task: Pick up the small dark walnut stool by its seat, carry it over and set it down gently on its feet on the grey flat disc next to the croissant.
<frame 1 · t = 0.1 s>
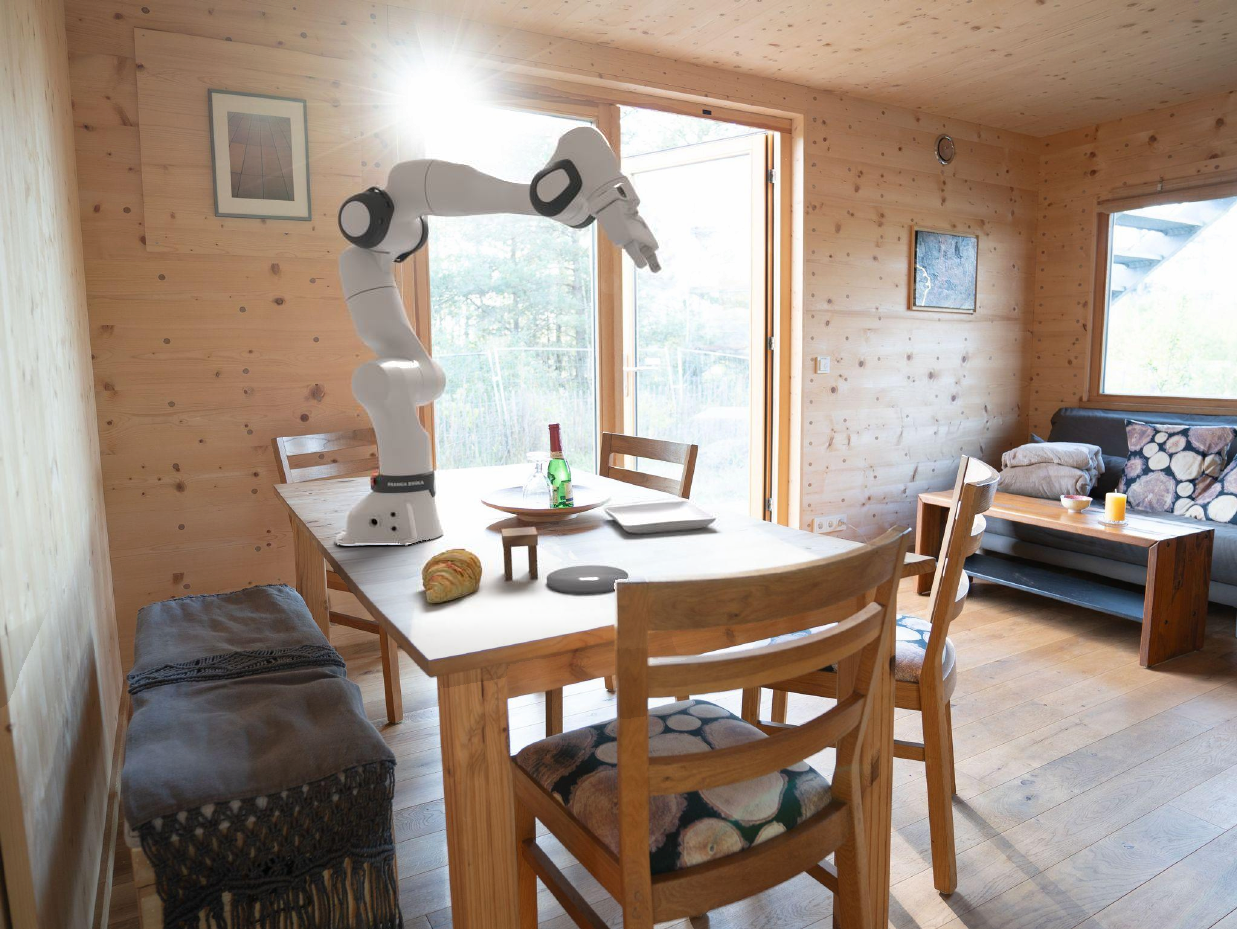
hand: (650, 269, 152), 54 cm above the table, tool tilted 30°, fingers open, 8 cm apart
salad plate: (657, 526, 184), on the table
stool: (520, 575, 144), on the table
grey flat disc: (587, 581, 139), on the table
croissant: (451, 590, 137), on the table
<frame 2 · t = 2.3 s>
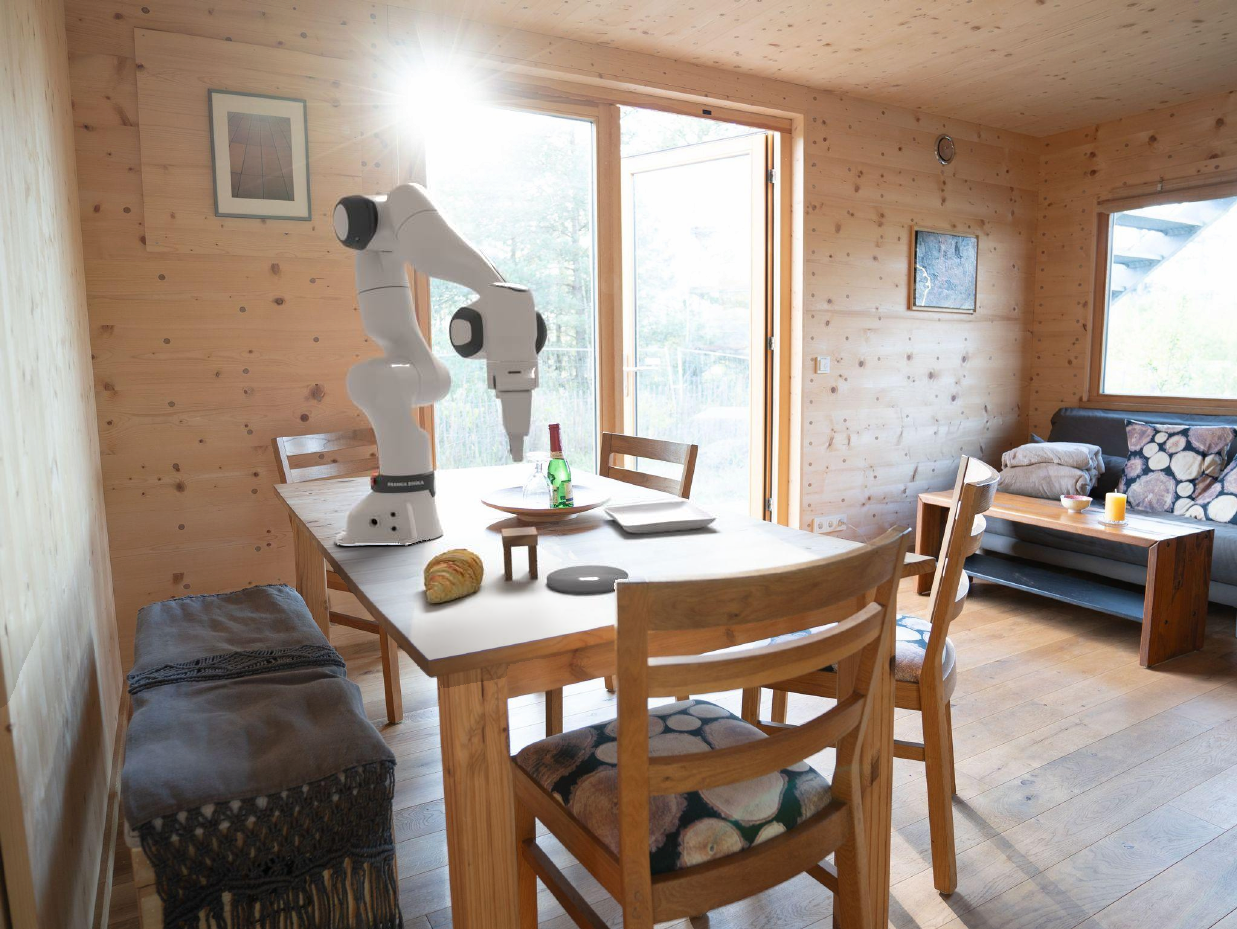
hand: (516, 458, 141), 21 cm above the table, tool pointing down, fingers open, 8 cm apart
nothing on the table moved.
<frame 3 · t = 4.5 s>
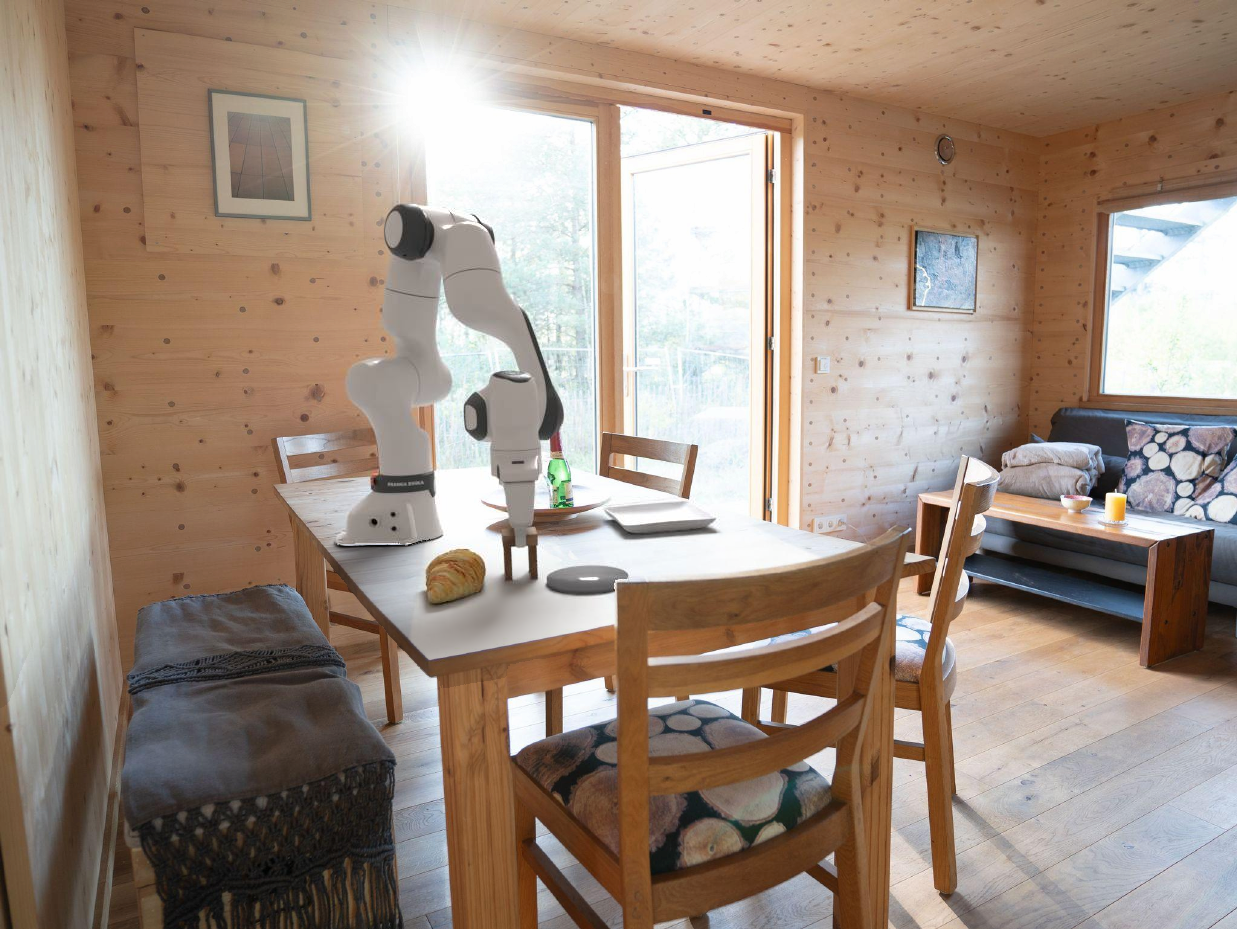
hand: (519, 541, 143), 6 cm above the table, tool pointing down, fingers closed on stool, 6 cm apart
stool: (520, 575, 144), on the table, touching gripper
everything else where it was.
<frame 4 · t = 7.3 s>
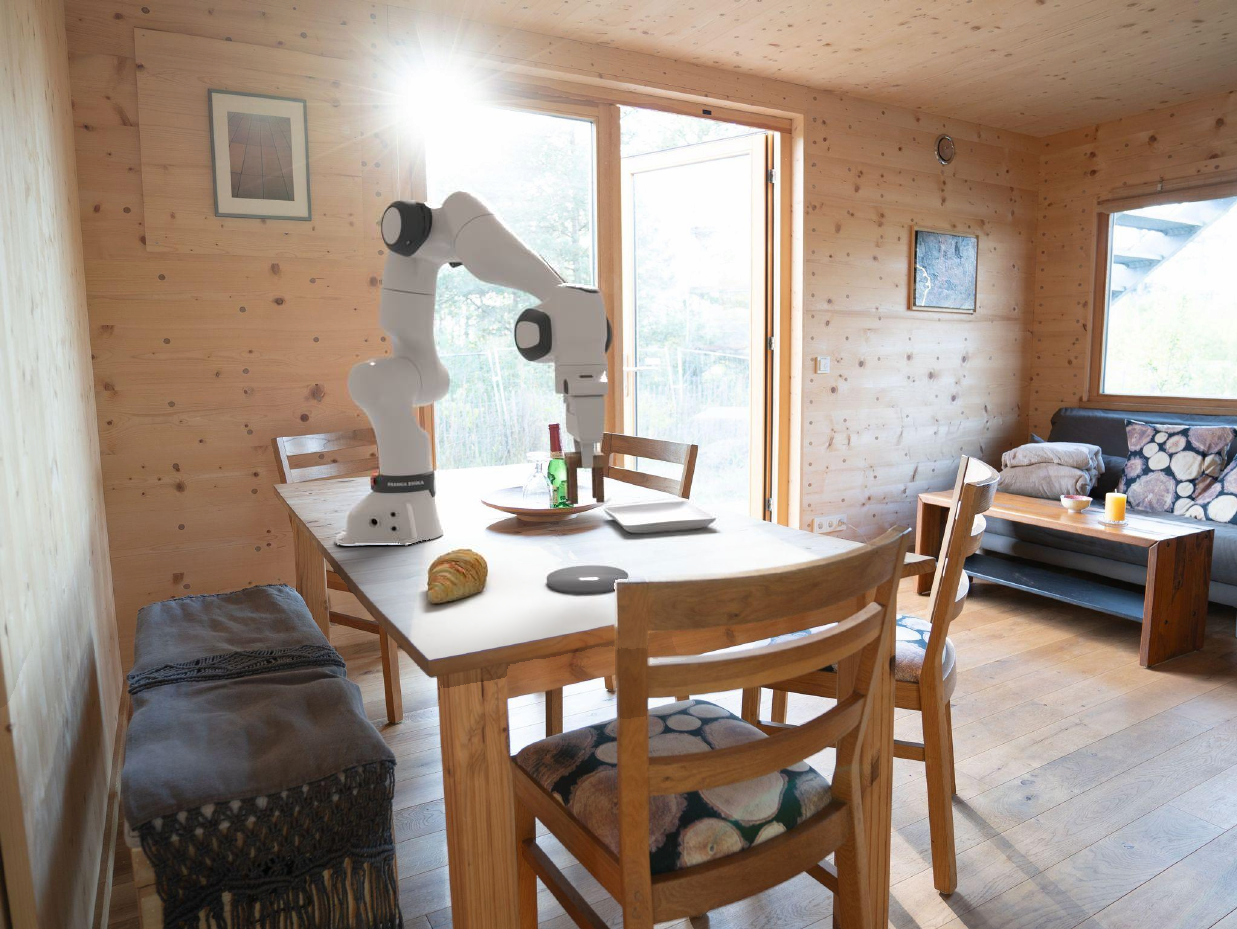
hand: (584, 465, 136), 20 cm above the table, tool pointing down, fingers closed on stool, 6 cm apart
stool: (585, 500, 137), point 14 cm above the table, touching gripper
everything else where it was.
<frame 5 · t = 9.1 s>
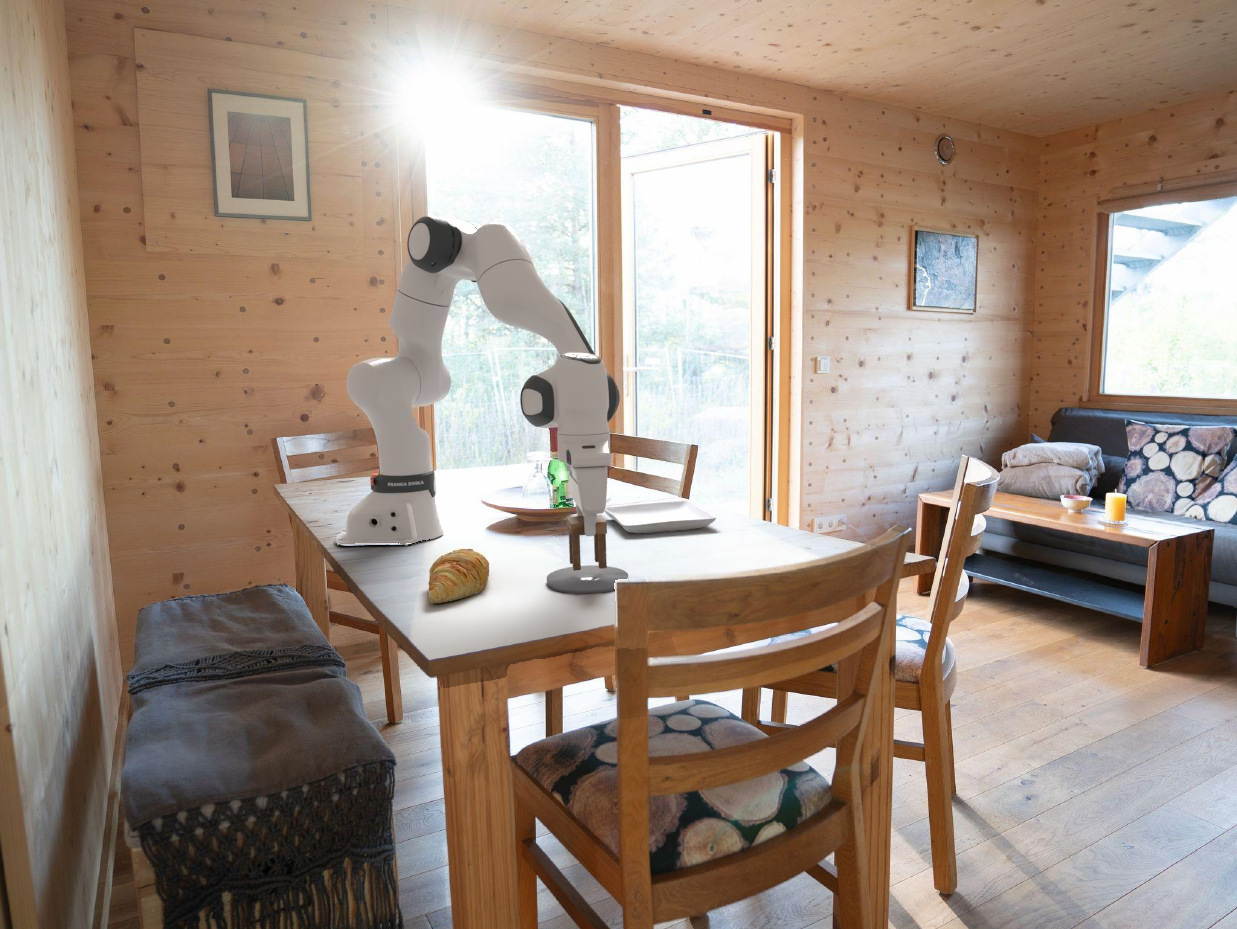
hand: (586, 530, 137), 9 cm above the table, tool pointing down, fingers closed on stool, 6 cm apart
stool: (587, 565, 138), point 3 cm above the table, touching gripper
when the fingers open (8 cm above the table, at t = 10.3 s): stool stays where it is, resting on grey flat disc.
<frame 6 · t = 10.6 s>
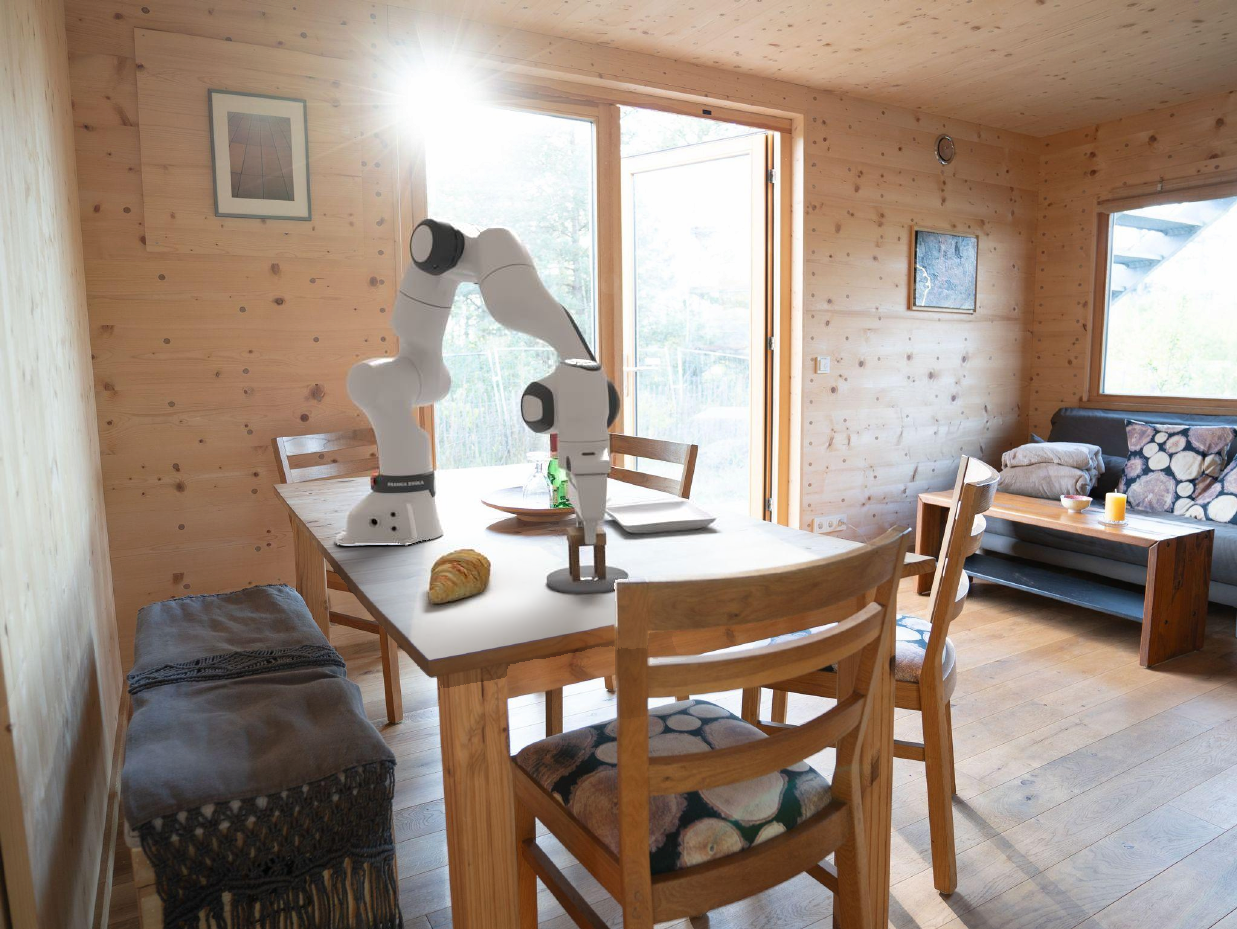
hand: (586, 536, 138), 8 cm above the table, tool pointing down, fingers open, 8 cm apart
stool: (587, 576, 139), point 1 cm above the table, touching grey flat disc
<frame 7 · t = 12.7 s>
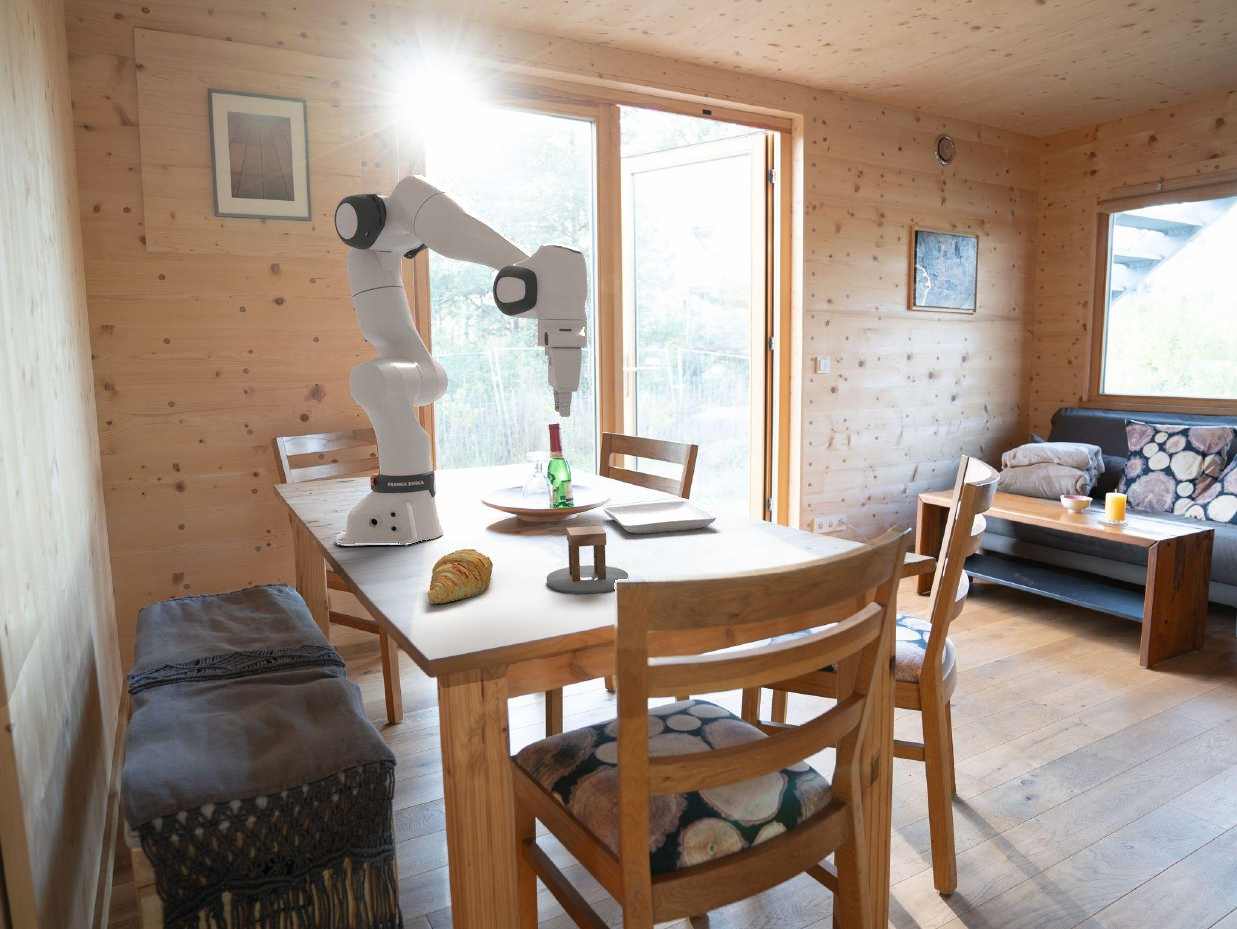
hand: (562, 414, 146), 28 cm above the table, tool pointing down, fingers open, 8 cm apart
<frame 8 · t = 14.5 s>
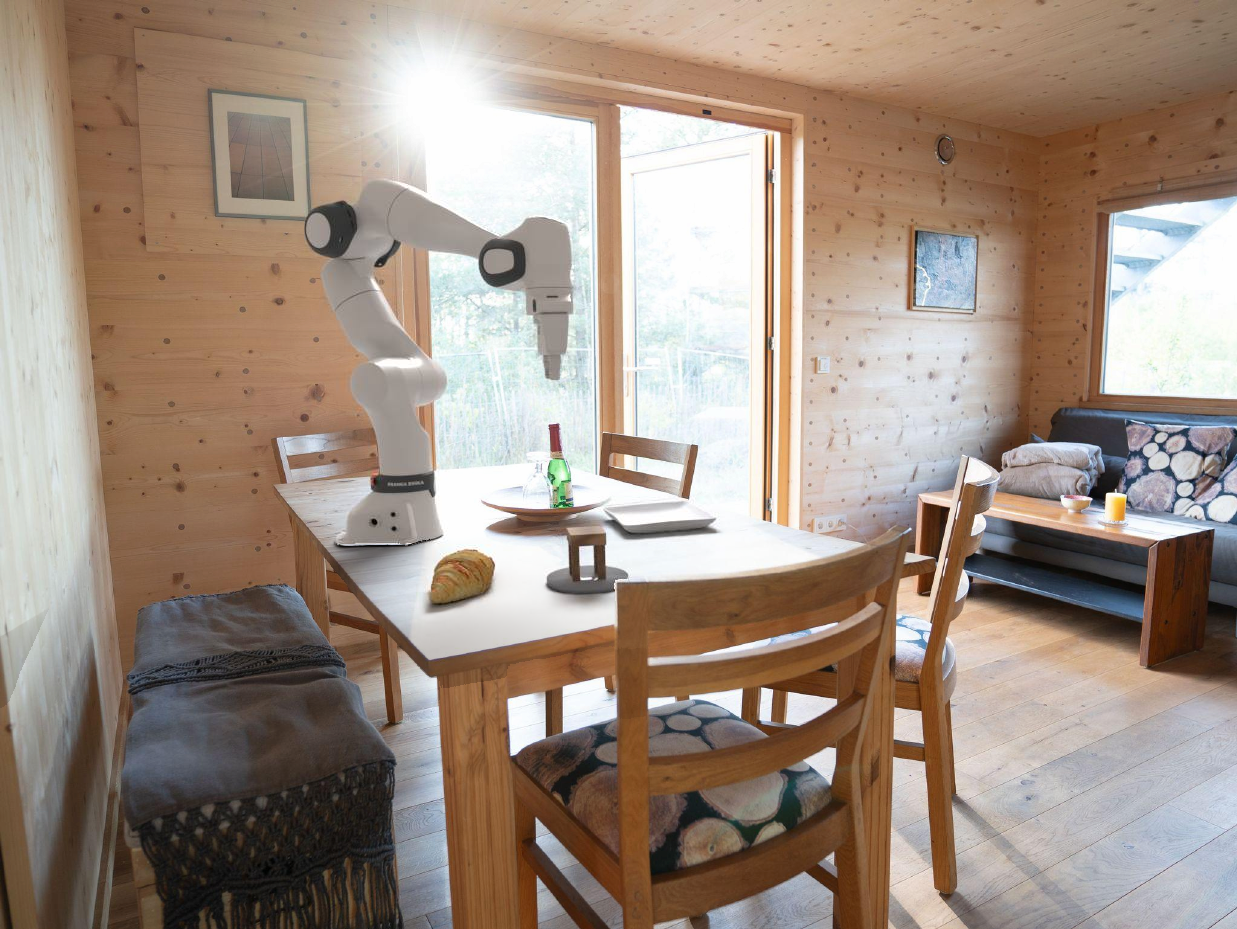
hand: (552, 379, 153), 34 cm above the table, tool pointing down, fingers open, 8 cm apart
at the end: stool inside the target area on the grey flat disc (0.1 cm from its centre), point 1.0 cm above the grey flat disc's base; stool tilted 0°; the gripper is holding nothing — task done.
